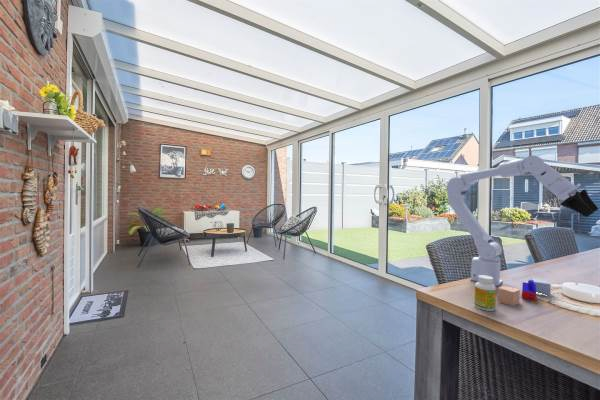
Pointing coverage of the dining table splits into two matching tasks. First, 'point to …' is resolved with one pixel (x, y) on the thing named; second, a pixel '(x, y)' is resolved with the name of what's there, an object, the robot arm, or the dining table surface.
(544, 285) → the slate blue block
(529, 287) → the toy building block
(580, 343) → the dining table surface
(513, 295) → the terracotta block
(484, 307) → the supplement bottle
